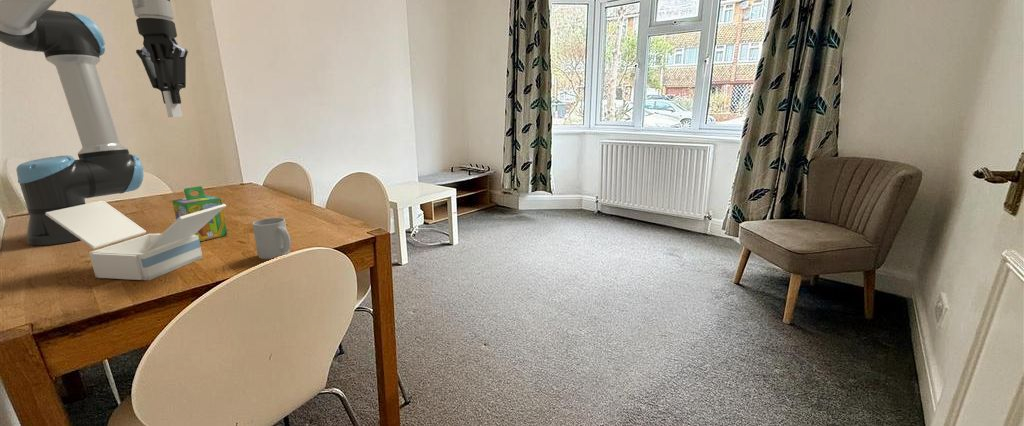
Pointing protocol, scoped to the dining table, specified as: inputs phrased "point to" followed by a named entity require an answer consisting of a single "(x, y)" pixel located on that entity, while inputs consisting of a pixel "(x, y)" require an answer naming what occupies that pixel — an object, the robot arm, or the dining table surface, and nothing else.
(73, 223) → the flap
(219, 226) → the chalk box
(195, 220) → the flap
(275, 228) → the cup
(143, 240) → the carton
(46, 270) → the dining table surface
